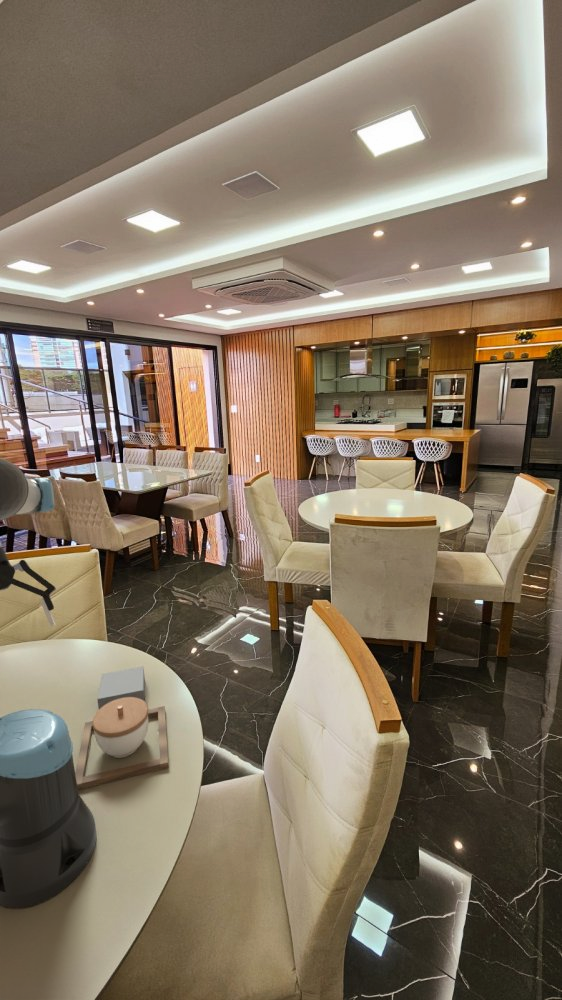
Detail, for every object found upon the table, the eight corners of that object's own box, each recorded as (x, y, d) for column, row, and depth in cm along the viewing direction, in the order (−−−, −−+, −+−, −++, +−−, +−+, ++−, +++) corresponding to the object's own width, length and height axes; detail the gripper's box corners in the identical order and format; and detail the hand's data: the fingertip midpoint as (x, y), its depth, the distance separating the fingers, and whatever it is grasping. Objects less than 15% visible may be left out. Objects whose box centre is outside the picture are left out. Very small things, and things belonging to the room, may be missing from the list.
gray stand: (144, 704, 103) (143, 690, 102) (99, 714, 100) (97, 699, 99) (144, 680, 112) (143, 666, 111) (103, 688, 109) (101, 673, 109)
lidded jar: (129, 772, 84) (124, 731, 82) (84, 759, 87) (79, 719, 85) (161, 733, 94) (157, 695, 92) (120, 723, 97) (115, 686, 95)
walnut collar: (168, 767, 85) (168, 762, 85) (73, 790, 80) (72, 785, 80) (165, 710, 101) (164, 705, 101) (85, 727, 96) (84, 722, 96)
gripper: (45, 533, 106) (79, 613, 104) (-76, 579, 95) (-39, 669, 94) (40, 527, 99) (77, 613, 98) (-90, 575, 89) (-51, 672, 87)
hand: (20, 640), depth 96 cm, fingers open, 13 cm apart
